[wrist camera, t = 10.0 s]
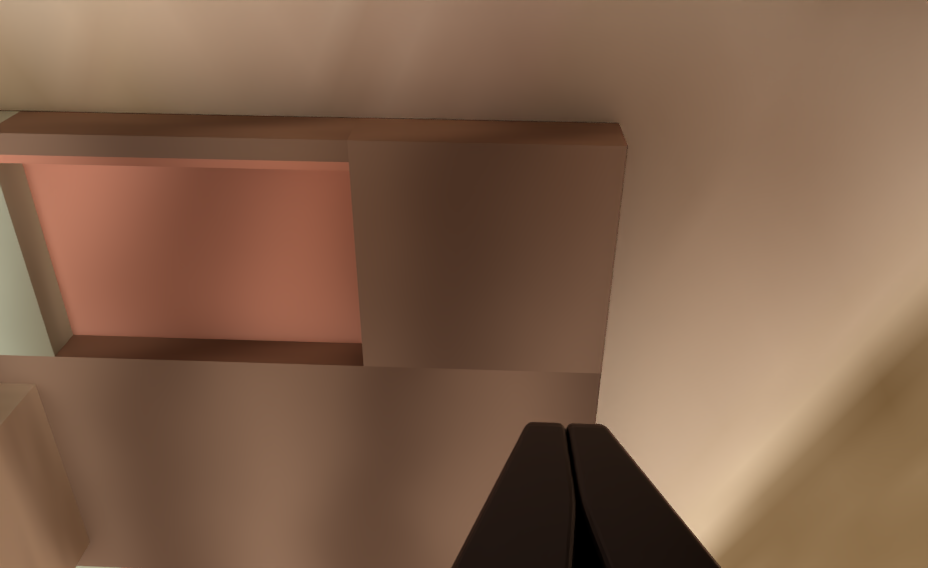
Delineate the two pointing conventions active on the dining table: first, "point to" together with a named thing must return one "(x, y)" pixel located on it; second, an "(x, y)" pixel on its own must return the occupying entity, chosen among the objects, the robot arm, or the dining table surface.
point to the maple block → (34, 488)
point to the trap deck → (300, 322)
